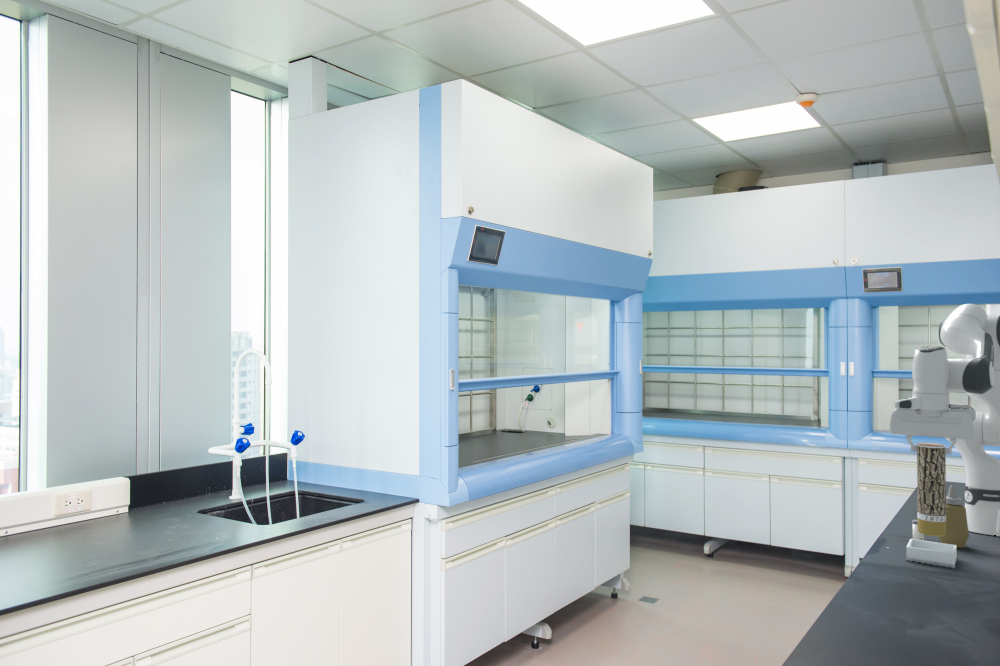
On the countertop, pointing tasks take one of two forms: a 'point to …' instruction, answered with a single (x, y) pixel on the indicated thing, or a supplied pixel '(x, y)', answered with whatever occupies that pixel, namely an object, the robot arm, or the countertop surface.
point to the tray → (931, 553)
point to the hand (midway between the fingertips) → (931, 452)
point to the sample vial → (916, 533)
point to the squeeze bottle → (955, 521)
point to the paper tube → (931, 489)
